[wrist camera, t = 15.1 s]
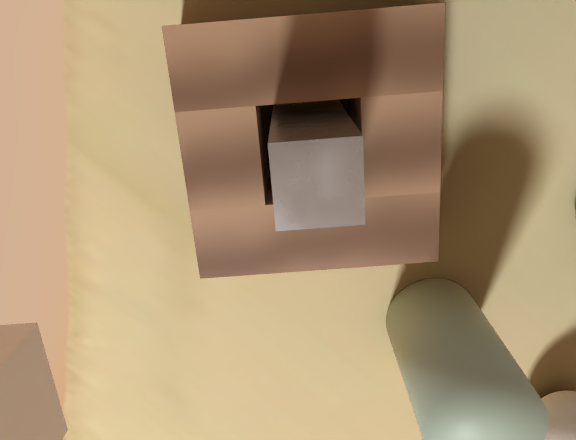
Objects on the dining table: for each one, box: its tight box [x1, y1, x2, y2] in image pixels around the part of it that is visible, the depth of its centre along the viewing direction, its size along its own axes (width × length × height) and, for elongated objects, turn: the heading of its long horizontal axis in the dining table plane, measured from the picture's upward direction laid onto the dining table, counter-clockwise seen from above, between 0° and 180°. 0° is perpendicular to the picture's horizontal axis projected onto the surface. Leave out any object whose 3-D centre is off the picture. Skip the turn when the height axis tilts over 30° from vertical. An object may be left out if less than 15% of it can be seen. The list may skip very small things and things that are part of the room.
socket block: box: [162, 3, 445, 278], centre depth 31 cm, size 14×14×5 cm
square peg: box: [268, 100, 365, 231], centre depth 28 cm, size 4×4×11 cm
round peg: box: [386, 278, 549, 440], centre depth 32 cm, size 6×6×11 cm
